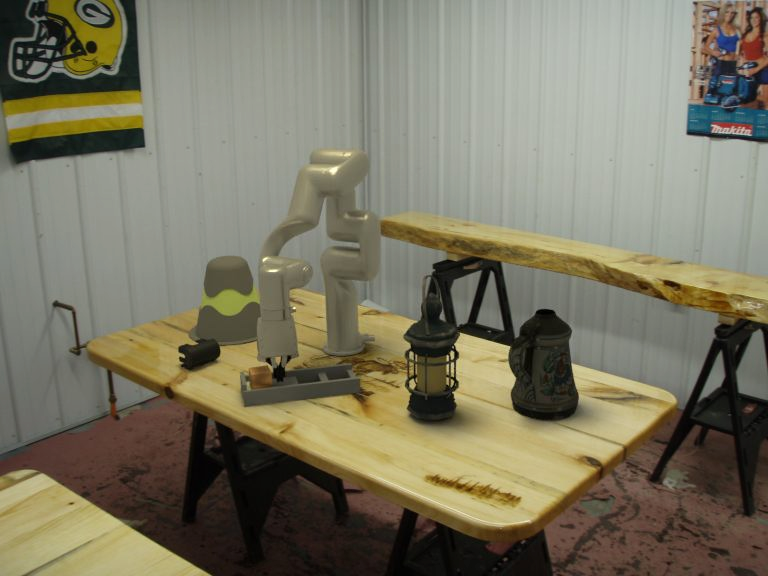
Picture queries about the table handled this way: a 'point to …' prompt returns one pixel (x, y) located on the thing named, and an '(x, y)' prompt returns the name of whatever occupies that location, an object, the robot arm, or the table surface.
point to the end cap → (199, 353)
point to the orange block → (260, 377)
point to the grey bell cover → (228, 303)
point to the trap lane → (303, 385)
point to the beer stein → (543, 368)
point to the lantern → (431, 360)
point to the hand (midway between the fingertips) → (279, 380)
